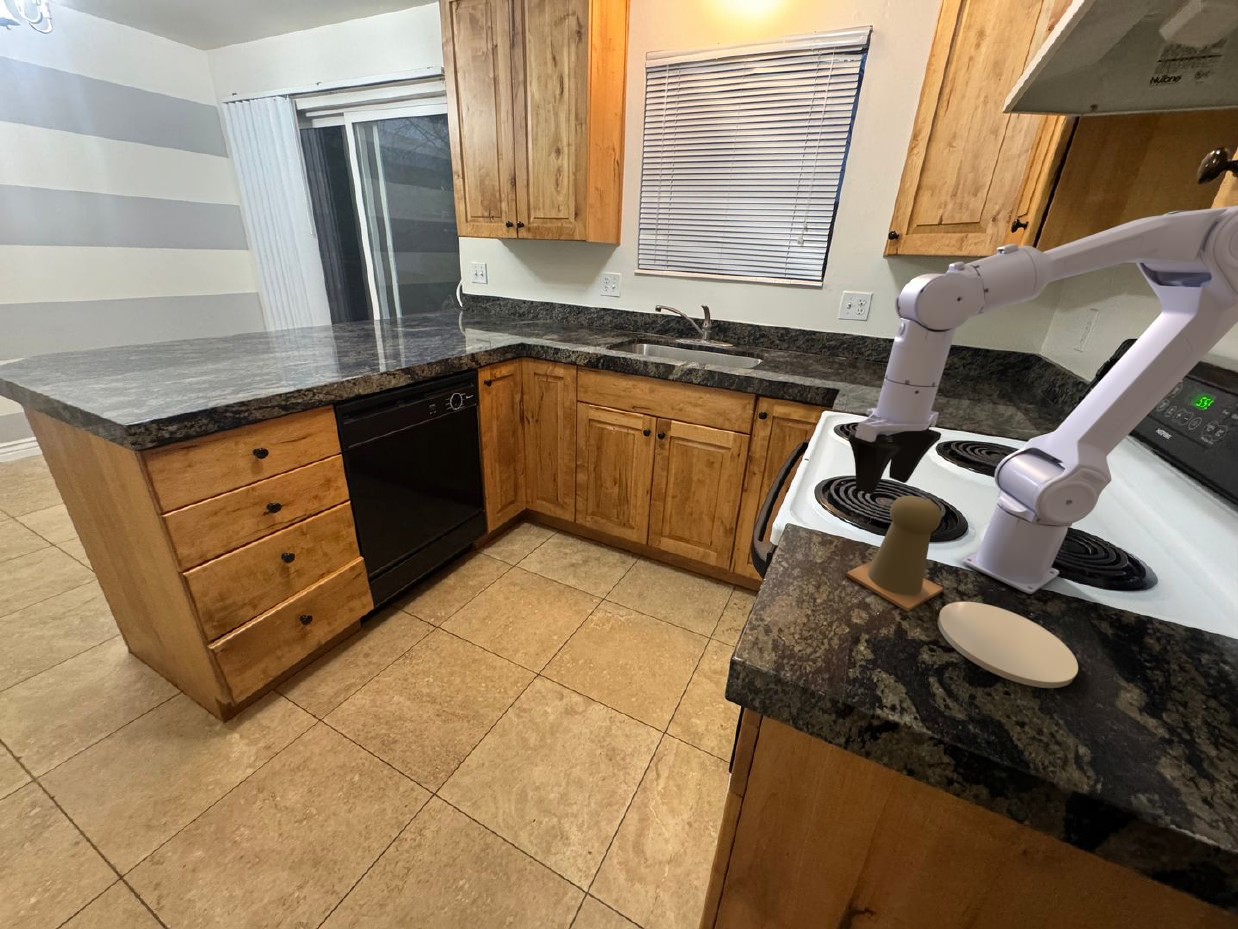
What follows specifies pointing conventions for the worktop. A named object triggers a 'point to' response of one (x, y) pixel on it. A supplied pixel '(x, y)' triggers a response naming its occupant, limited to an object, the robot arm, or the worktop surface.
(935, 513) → the pepper shaker
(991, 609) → the plate
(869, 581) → the cork trivet
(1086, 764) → the worktop surface
